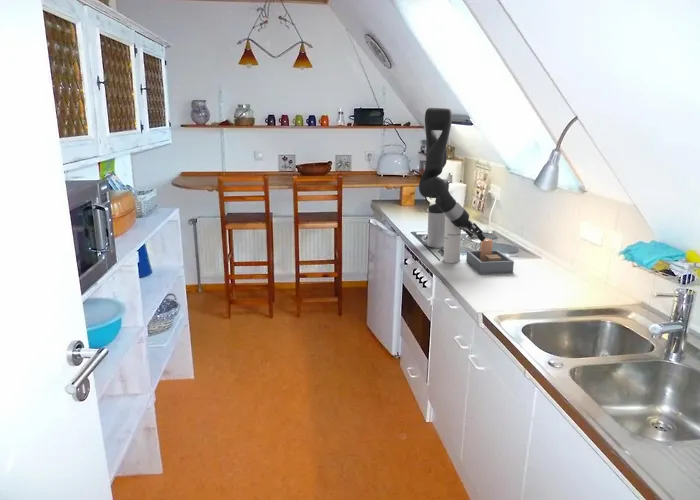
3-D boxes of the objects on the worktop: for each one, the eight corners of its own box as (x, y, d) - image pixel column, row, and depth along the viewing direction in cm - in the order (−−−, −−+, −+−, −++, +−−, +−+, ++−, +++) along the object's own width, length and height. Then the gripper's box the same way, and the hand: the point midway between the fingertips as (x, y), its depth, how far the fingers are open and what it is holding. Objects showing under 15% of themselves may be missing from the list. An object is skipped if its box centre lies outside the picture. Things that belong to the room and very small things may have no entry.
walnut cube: (484, 266, 210) (485, 254, 209) (495, 265, 211) (496, 254, 209) (488, 269, 206) (489, 258, 204) (500, 269, 206) (501, 257, 205)
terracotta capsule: (477, 260, 218) (479, 238, 216) (488, 260, 218) (490, 238, 216) (481, 263, 213) (483, 241, 211) (492, 263, 214) (494, 241, 211)
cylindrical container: (455, 263, 218) (458, 207, 211) (440, 261, 222) (442, 206, 215) (462, 259, 223) (465, 205, 217) (447, 257, 227) (450, 203, 221)
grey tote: (466, 261, 220) (466, 250, 219) (496, 260, 221) (497, 249, 220) (479, 274, 203) (480, 262, 202) (512, 273, 204) (513, 261, 203)
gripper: (471, 209, 198) (493, 234, 205) (452, 203, 211) (473, 227, 218) (459, 223, 198) (481, 248, 205) (440, 216, 211) (462, 240, 217)
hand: (477, 237), depth 211 cm, fingers open, 8 cm apart
